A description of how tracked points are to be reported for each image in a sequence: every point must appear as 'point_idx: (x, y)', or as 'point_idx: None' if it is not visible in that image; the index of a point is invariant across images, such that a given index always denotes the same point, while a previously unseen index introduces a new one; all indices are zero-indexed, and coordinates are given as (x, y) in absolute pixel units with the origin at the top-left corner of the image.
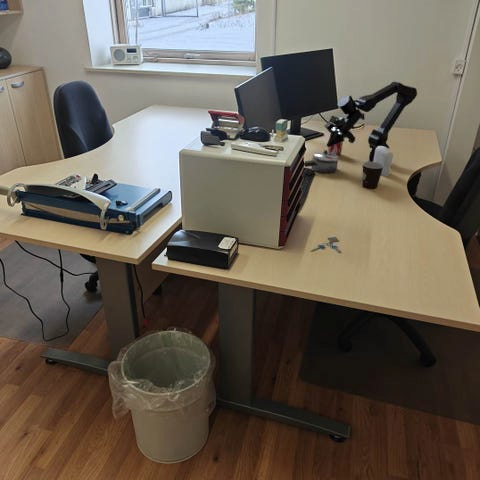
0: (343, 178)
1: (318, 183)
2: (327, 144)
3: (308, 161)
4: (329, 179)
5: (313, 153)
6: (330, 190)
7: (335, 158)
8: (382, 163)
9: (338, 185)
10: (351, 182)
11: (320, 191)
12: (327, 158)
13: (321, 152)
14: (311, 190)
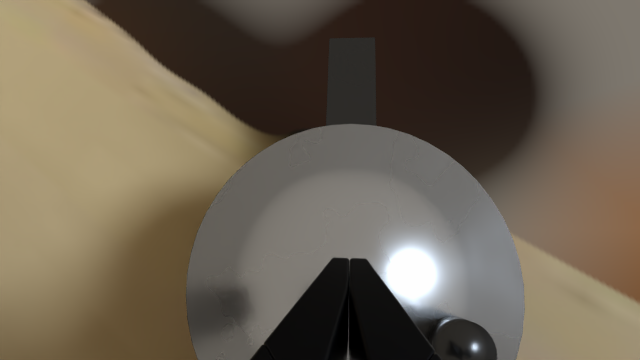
0: (102, 316)
1: (138, 97)
2: (353, 267)
3: (360, 95)
4: (149, 199)
5: (430, 145)
6: (17, 105)
7: (209, 337)
8: None
9: (35, 194)
10: (7, 322)
11: (45, 51)
12: (225, 215)
13: (481, 296)
14: (86, 19)
